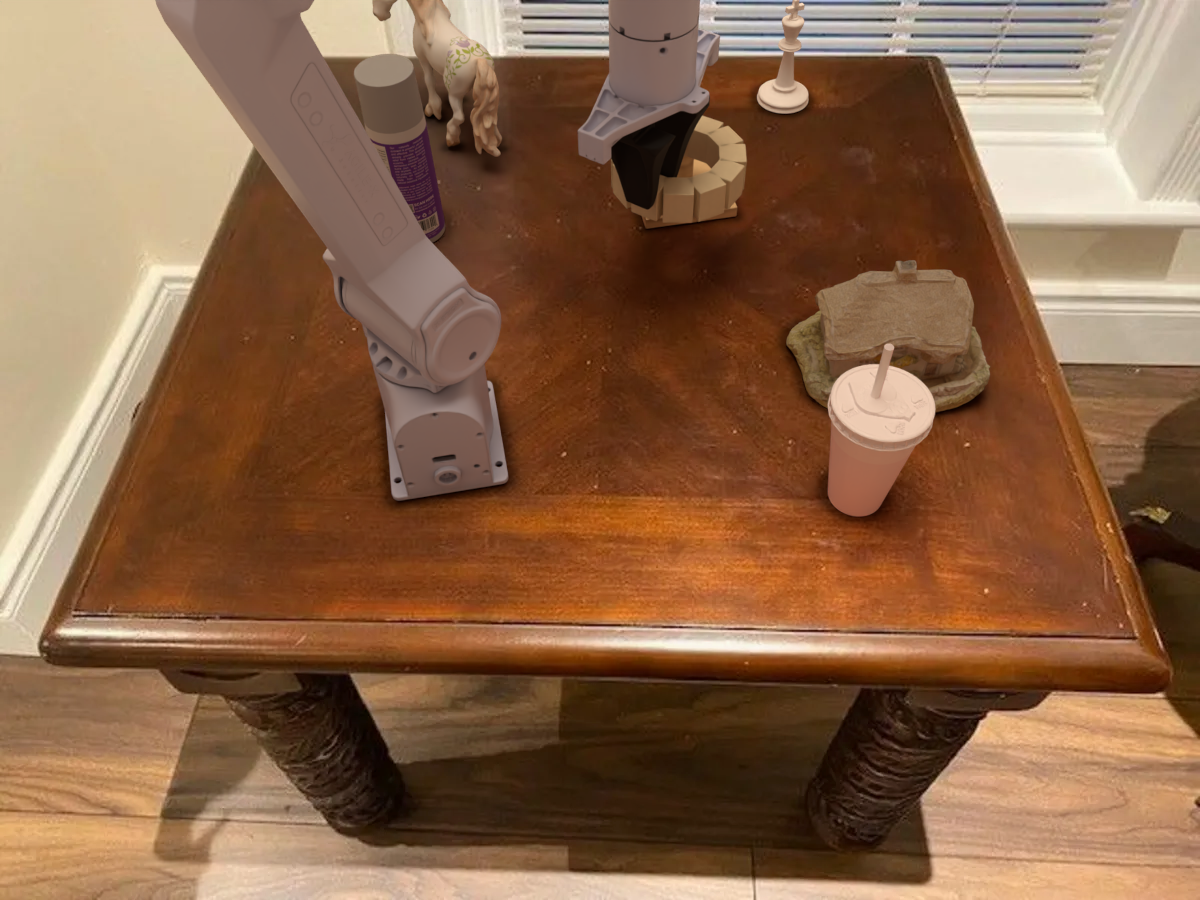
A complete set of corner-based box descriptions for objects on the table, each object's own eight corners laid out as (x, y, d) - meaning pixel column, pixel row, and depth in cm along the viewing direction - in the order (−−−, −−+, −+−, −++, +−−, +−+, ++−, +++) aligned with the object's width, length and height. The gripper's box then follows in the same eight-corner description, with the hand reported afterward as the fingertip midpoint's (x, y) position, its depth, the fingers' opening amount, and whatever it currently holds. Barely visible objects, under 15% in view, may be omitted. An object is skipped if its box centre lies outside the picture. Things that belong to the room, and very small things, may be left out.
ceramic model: (794, 421, 74) (814, 321, 67) (781, 312, 81) (798, 210, 74) (991, 423, 74) (1035, 323, 66) (962, 313, 81) (998, 211, 73)
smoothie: (839, 442, 73) (877, 297, 62) (920, 488, 71) (975, 344, 60) (789, 500, 70) (820, 358, 59) (872, 550, 68) (920, 411, 57)
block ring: (762, 212, 76) (765, 183, 74) (627, 233, 75) (627, 205, 73) (722, 132, 83) (724, 103, 81) (597, 151, 81) (597, 123, 79)
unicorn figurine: (409, 67, 104) (384, -67, 93) (549, 142, 96) (540, 4, 85) (353, 99, 101) (322, -37, 90) (494, 179, 92) (477, 41, 82)
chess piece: (747, 92, 100) (758, -8, 92) (791, 79, 101) (805, -20, 94) (773, 119, 97) (786, 18, 90) (818, 105, 99) (835, 5, 91)
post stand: (736, 216, 89) (743, 152, 84) (645, 229, 88) (647, 165, 83) (712, 161, 94) (718, 97, 88) (626, 172, 93) (626, 108, 88)
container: (451, 213, 89) (422, 54, 78) (438, 249, 87) (405, 89, 75) (399, 209, 90) (362, 51, 78) (384, 245, 87) (343, 85, 75)
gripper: (644, 92, 60) (641, 268, 71) (765, -15, 67) (746, 160, 78) (546, 56, 63) (558, 231, 73) (673, -43, 70) (667, 129, 81)
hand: (649, 192), depth 76 cm, fingers closed on block ring, 2 cm apart
